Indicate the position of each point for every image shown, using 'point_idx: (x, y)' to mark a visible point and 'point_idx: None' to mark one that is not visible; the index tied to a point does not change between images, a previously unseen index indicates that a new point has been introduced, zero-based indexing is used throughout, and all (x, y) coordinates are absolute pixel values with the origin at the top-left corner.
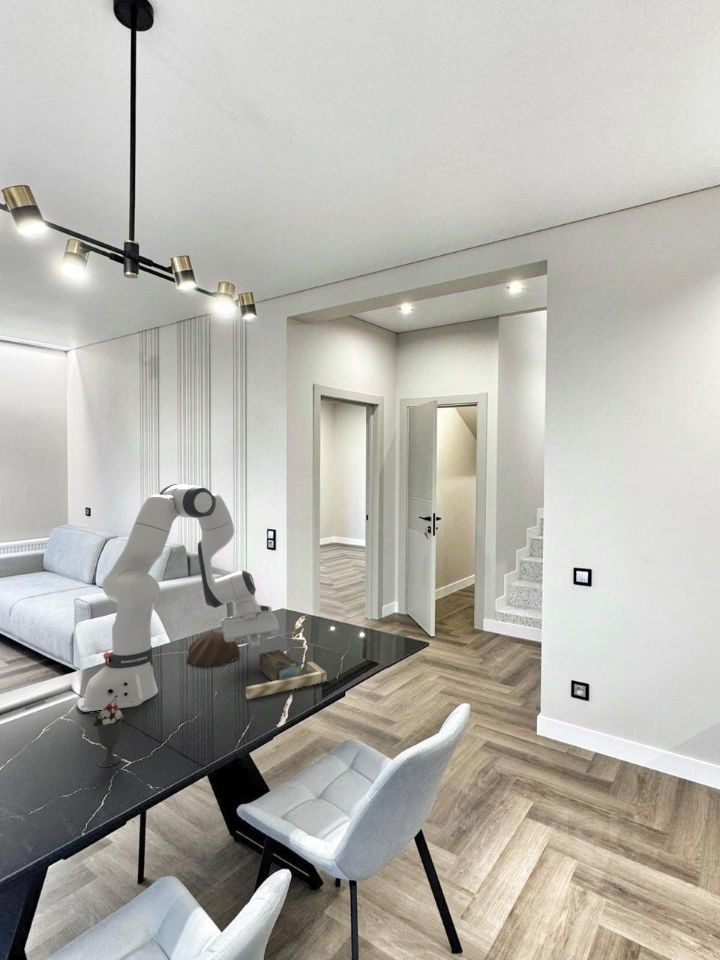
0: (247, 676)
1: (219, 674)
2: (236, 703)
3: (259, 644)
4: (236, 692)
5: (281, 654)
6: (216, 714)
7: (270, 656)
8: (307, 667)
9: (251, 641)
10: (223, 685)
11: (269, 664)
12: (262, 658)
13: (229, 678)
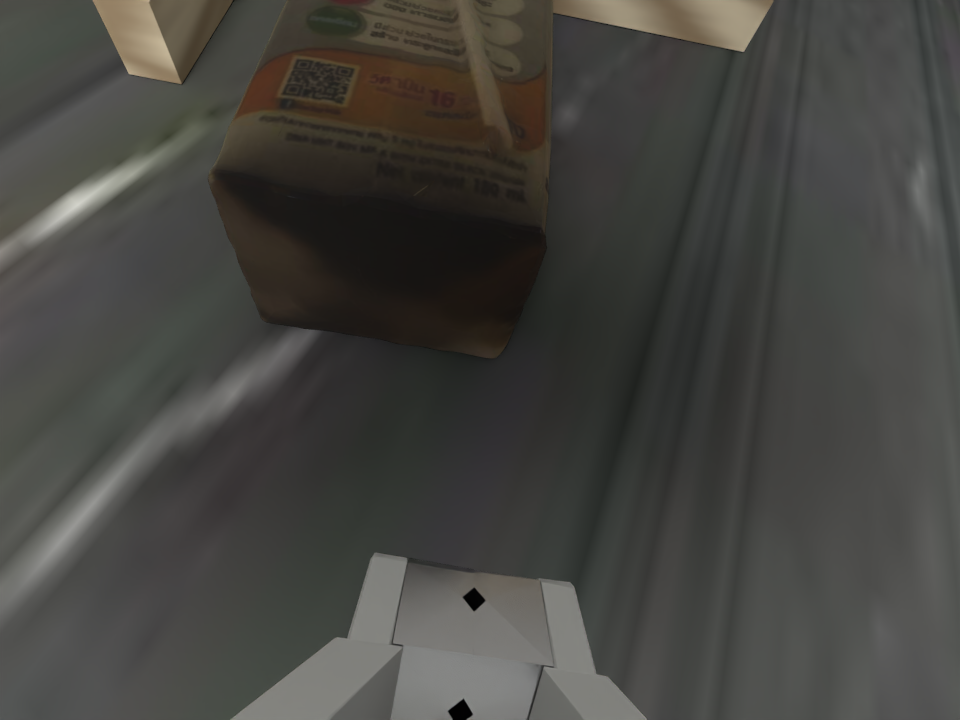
0: (659, 307)
1: (923, 550)
2: (802, 32)
3: (380, 557)
4: (789, 125)
5: (338, 20)
6: (900, 11)
7: (482, 55)
8: (172, 39)
9: (586, 695)
10: (874, 271)
11: (552, 9)
12: (549, 154)
13: (821, 372)
